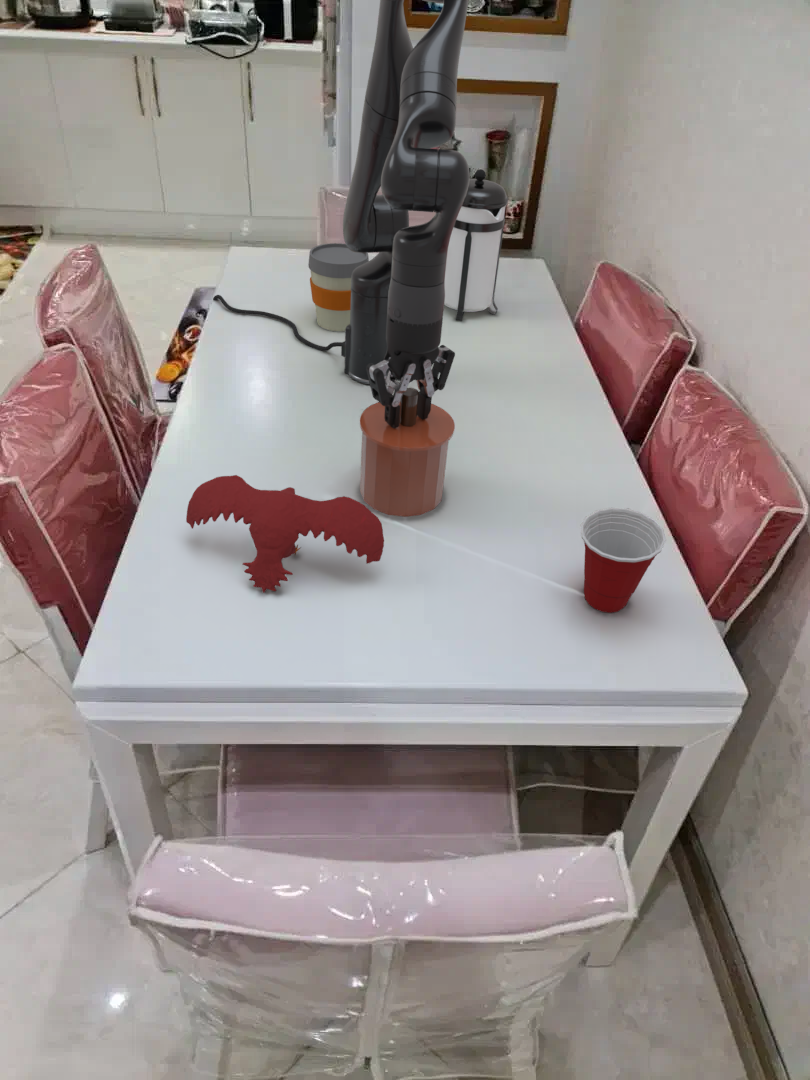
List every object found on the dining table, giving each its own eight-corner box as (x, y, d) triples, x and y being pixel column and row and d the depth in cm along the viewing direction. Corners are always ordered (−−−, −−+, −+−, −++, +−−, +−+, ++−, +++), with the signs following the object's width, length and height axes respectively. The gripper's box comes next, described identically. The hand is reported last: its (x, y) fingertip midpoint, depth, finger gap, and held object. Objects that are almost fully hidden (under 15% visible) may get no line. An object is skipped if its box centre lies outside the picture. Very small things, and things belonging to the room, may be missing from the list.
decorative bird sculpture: (373, 614, 112) (395, 508, 113) (362, 614, 103) (386, 499, 104) (182, 574, 116) (205, 472, 117) (155, 571, 107) (180, 460, 108)
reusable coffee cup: (378, 321, 177) (381, 252, 167) (344, 340, 168) (346, 269, 159) (331, 305, 182) (332, 238, 172) (296, 323, 173) (295, 253, 164)
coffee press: (505, 301, 190) (525, 165, 171) (488, 327, 178) (507, 184, 159) (434, 288, 194) (447, 153, 175) (413, 312, 182) (424, 170, 163)
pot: (345, 501, 125) (346, 431, 117) (386, 462, 134) (390, 395, 126) (418, 529, 120) (425, 459, 113) (455, 487, 129) (464, 420, 122)
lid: (341, 435, 117) (342, 397, 113) (388, 396, 127) (391, 360, 123) (427, 465, 112) (431, 427, 108) (469, 422, 122) (474, 386, 118)
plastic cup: (555, 572, 115) (572, 505, 107) (629, 572, 116) (650, 505, 108) (574, 627, 106) (593, 558, 99) (653, 626, 108) (678, 557, 100)
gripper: (441, 291, 114) (431, 398, 124) (355, 309, 107) (352, 421, 118) (474, 311, 109) (460, 420, 120) (386, 331, 102) (380, 445, 113)
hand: (407, 420), depth 119 cm, fingers open, 4 cm apart
